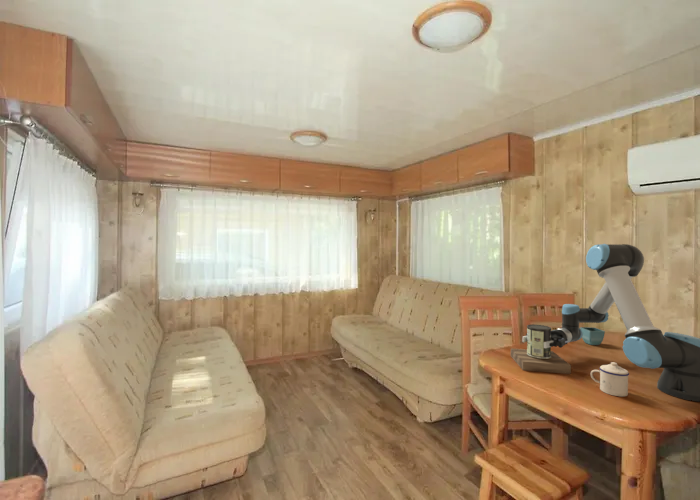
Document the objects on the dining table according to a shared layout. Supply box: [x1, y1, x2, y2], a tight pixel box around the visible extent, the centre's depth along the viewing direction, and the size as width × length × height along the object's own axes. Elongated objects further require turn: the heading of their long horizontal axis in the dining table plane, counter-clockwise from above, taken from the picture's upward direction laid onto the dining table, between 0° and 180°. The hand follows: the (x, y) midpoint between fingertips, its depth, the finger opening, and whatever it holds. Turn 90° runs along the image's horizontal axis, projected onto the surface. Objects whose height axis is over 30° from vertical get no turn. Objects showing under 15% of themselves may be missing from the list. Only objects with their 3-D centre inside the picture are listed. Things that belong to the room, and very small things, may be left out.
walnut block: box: [510, 348, 572, 375], centre depth 159 cm, size 20×20×4 cm
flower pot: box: [579, 326, 606, 346], centre depth 193 cm, size 9×9×9 cm
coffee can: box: [526, 323, 552, 359], centre depth 159 cm, size 10×10×14 cm
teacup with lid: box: [590, 361, 630, 398], centre depth 130 cm, size 12×9×12 cm
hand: (533, 342), depth 157 cm, fingers closed on coffee can, 10 cm apart
